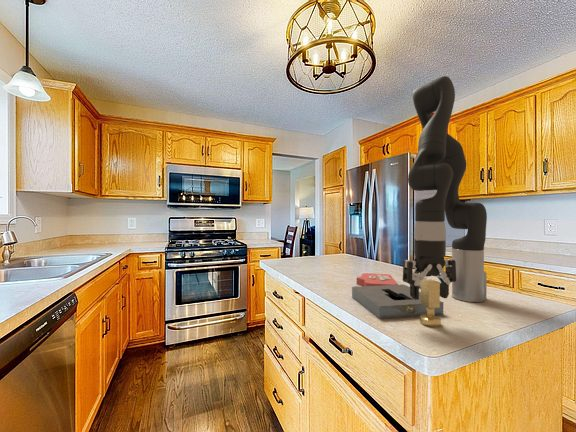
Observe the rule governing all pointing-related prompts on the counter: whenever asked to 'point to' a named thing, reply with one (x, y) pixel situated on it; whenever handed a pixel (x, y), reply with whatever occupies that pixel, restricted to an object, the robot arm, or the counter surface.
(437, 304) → the peg
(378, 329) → the counter surface
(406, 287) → the keyhole plate
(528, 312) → the counter surface
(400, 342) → the counter surface
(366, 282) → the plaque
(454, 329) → the counter surface
